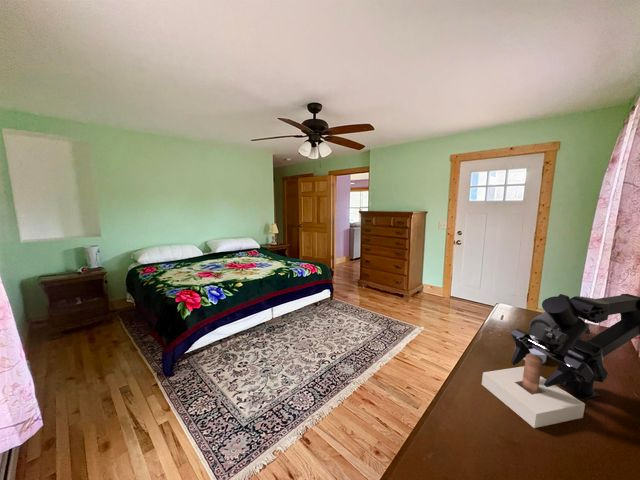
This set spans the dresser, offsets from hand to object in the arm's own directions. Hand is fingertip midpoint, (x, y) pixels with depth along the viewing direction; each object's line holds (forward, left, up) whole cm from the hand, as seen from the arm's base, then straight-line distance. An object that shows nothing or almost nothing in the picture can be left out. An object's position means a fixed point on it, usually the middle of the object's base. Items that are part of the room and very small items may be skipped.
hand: (527, 374), depth 72 cm
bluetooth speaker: (-49, -29, -8) cm, 58 cm away
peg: (-1, 0, -8) cm, 8 cm away
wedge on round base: (-25, -18, -8) cm, 32 cm away
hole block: (-1, 0, -8) cm, 8 cm away
